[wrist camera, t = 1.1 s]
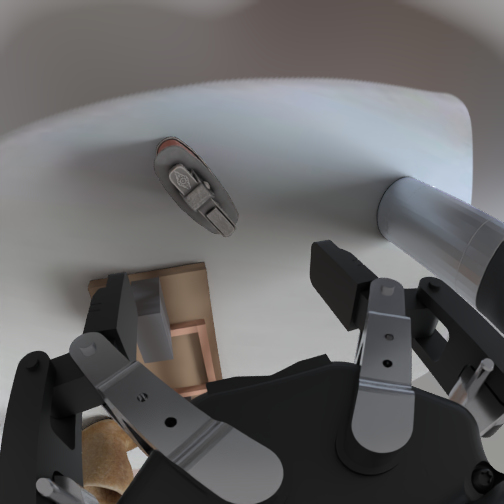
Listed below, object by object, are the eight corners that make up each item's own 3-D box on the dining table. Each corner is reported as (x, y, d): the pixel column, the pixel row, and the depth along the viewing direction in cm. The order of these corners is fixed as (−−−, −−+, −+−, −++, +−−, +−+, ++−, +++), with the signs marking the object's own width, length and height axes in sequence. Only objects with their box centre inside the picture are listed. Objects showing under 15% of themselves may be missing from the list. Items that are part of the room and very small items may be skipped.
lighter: (147, 152, 26) (140, 176, 17) (175, 128, 26) (181, 139, 17) (202, 211, 30) (220, 258, 22) (228, 189, 30) (257, 227, 21)
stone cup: (101, 403, 39) (101, 487, 26) (153, 431, 45) (163, 505, 32) (55, 428, 39) (51, 498, 27) (103, 452, 46) (107, 516, 33)
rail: (204, 262, 33) (216, 303, 26) (225, 400, 45) (236, 438, 39) (90, 280, 30) (77, 324, 23) (148, 413, 42) (151, 451, 36)
